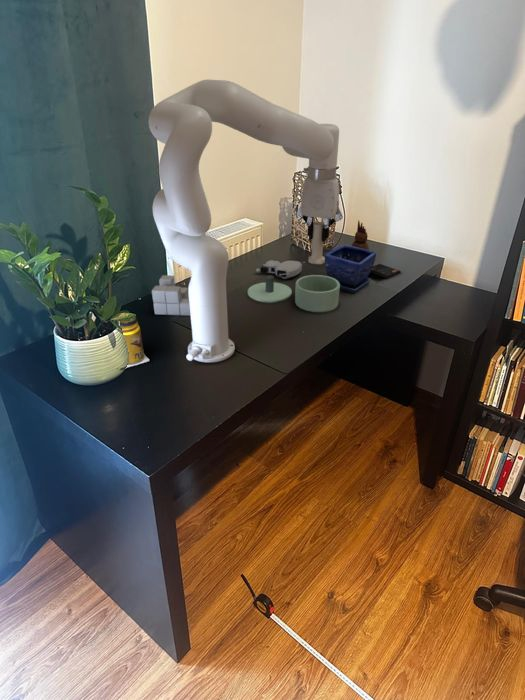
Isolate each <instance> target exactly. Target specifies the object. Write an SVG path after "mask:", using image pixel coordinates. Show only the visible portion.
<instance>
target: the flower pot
mask: <svg viewBox="0 0 525 700" xmlns="http://www.w3.org/2000/svg"><path fill="white" fill-rule="evenodd" d="M358 256H360V259H358V258H357V257H358ZM324 257H325V262H324V265H325V266H324V267H325V270H326V274H327V275H326V276H329V277H332V278H334V279H336V280H338V282H339V283H340V291H344V292H348V293H351V294H355V293H357V292H359V291H360V290H361V289H363V288H364V287H366V286H367V285H368V284H369V283H370V282H371V278H369V275H370V274H371V272H370V271H371V270H372V267H373V266H375V262H376V258H377V252H376V251H373V250H370V249H369V250H367V249H363V248H358V247H354V246H352V245H349V244H341V245H339V246H337V247H335V248H334V249H332V250H330V251H328V252H327V253H325V254H324ZM351 259H352V260H351ZM353 259H354V260H353Z"/></svg>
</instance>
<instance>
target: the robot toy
mask: <svg viewBox="0 0 525 700" xmlns="http://www.w3.org/2000/svg"><path fill="white" fill-rule="evenodd" d="M303 264H306V261H301V262H300V261H299V260H298V261H297V260H290V259H289V260H284V261H282V262H281V261H278V260H277V259H270V260H268V261H264V262H263V263H262V265H261V267H260V268H259V267H258V268H256V269H255V271H256V272H257V273H259V272H260V274H266V273H267V274H275V276H276V277H278V278H282V279H284V280H288V279H291V278H293V277H296V276H298V275H299V274H300V273H301V272H302V270H303Z"/></svg>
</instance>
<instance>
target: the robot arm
mask: <svg viewBox="0 0 525 700" xmlns="http://www.w3.org/2000/svg"><path fill="white" fill-rule="evenodd" d="M213 123H218V124H220V125H221V124H222V125H224V126H226V127H227V128H231V129H233V130H235V131H238V132H240V133H242V134H244V135H246V136H248V137H250V138H252V139H254V140H257V141H260V142H263V143H266V144H269V145H272V146H273V145H275V146H280V147H281V148H282V149H283V151H284V152H285V153H286V154H288V155H289V156H293V157H296V158H301V159H308V166H307V167H304V168H303V174H306V176H307V177H305V179H304V181H303V185H302V191H301V200H300V206H299V208H298V210H297V211H296V215H297V216H298V217H299V218H300V219H302V220H303V221H304V223H306V226H307V237H308V241H312V238H313V223H314V222H315V218H318V219H319V218H321V219H323V223H324V228H323V230H322V242H323V243H325V242H326V241H327V239H329V236H330V227H331V226H332V225H333V224H335V223H336V222H339V221H341V220H342V219H344V216H343V214H342V211H341V208H340V187H339V186H340V185H339V180H338V178H337V168H338V166H337V165H338V155H339V154H338V153H339V142H340V141H339V140H340V128H339V126H338V125H336V124H333V123H318V122H316V121H315V120H313V119H311V118H308V117H306V116H304V115H301V114H299V113H296V112H294V111H291V110H289V109H287V108H285V107H282V106H281V105H277V104H274V103H272V102H271V101H268V100H267V99H265V98H263V97H261V96H259V95H258V94H256V93H254V92H252V91H251V90H249V89H247V88H245V87H244V86H242V85H240V84H238V83H236V82H234V81H230V80H224V79H223V80H222V79H202V80H199V81H196V82H195V83H193V84H190V85H189V86H187V87H185V88H183V89H181V90H179V91H178V92H175V93H174V94H172V95H170V96H167V97H166V98H164V99H162V100H160V101H159V102H157V103H156V104H155V105H154V106H153V107H152V109H151V111H150V113H149V115H148V128H149V131H150V133H151V134H152V136H153V137H154V138H155V139H156V141H159V142H160V143H162V144H164V147H163V150H162V152H161V156H160V159H159V162H158V175H159V180H160V183H161V186H162V187H161V189H160V190H159V191H158V192H157V193H156V194H155V196H154V198H153V200H152V201H153V202H152V216H153V219H154V223H155V225H156V228H157V230H158V233H159V236H160V239H161V241H162V243H163V247H164V250H165V251H166V253H167V256H168V257H169V258H170V259H171V260H172V261H173V262H174V263H176V264H177V265H179V266H181V267H183V268H185V269H186V270H188V271H190V273H191V275H190V276H191V277H190V280H189V283H188V287H187V288H188V297H189V304H190V315H191V316H190V324H191V337H192V341H191V342H190V343H189V344H188V346H187V354H186V360H187V361H189V362H192V361H193V360H194V361H197V362H201V363H208V364H209V363H218V362H222V361H225V360H227V359H229V358H230V357H232V355H233V354H234V353H235V352H236V351H235V350H236V347H235V342H234V341H233V340H232V339H230V338H229V320H228V299H227V298H228V297H227V276H228V275H227V274H228V268H229V260H230V257H229V251H228V249H227V247H226V246H225V244H223V242H222V241H220V240H218V239H217V238H216V237H214V236H210V235H208V234H206V233H208V232H209V230H210V228H211V226H212V213H211V209H210V206H209V203H208V199H207V197H206V196H207V195H206V193H205V189H204V186H203V183H202V179H201V175H200V161H201V157H202V155H203V153H204V150H205V149H206V147H207V145H208V144H209V142H210V141H211V140H210V139H211V137H212V134H213Z"/></svg>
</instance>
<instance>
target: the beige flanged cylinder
mask: <svg viewBox="0 0 525 700" xmlns="http://www.w3.org/2000/svg"><path fill="white" fill-rule="evenodd" d="M323 228H324V221H314V223H313V238H312V240H311V254H310V255H309V256H308V263H310V264H312V265H322V264H325V256H323V251H324V242H322V230H323Z"/></svg>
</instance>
